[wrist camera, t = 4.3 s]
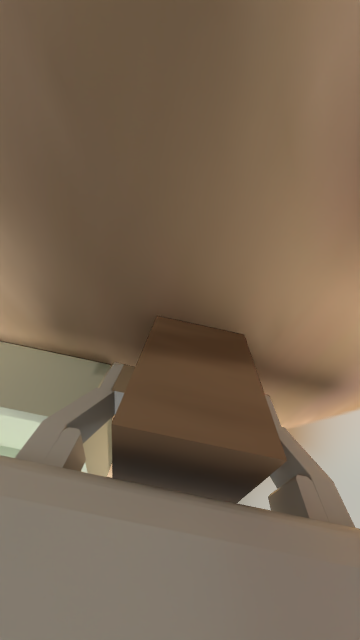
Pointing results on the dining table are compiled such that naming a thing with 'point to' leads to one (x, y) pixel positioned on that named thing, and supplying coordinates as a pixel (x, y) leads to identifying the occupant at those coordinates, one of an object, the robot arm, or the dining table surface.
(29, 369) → the bin
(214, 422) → the walnut block
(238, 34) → the dining table surface
